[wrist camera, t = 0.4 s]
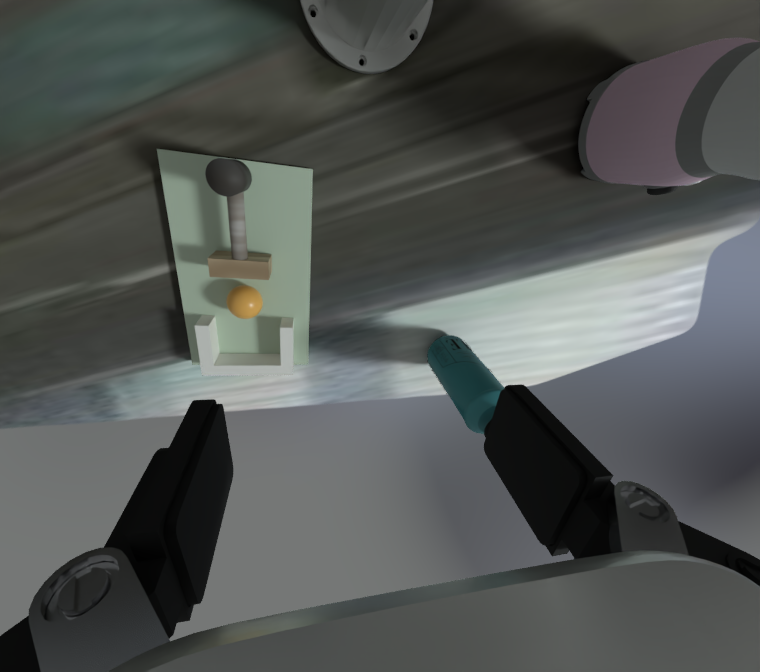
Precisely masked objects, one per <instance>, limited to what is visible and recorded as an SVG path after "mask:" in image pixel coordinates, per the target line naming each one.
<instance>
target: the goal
mask: <svg viewBox="0 0 760 672" xmlns="http://www.w3.org/2000/svg"><path fill="white" fill-rule="evenodd" d="M195 332H196V339H197V345H198V352H199V358H200V365H201V372H202V376H234V375H293V365H294V318H282V319H281V325H280V353H281V354H229V353H220V352H219V344H218V335H217V327H216V318H215V315H202V316H201V317H200V319H199V320H198V321H197V323H196V324H195Z"/></svg>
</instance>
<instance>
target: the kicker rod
mask: <svg viewBox="0 0 760 672" xmlns="http://www.w3.org/2000/svg"><path fill="white" fill-rule="evenodd" d="M205 176H206V180H207V183H208V184H209V186H210V187H211V189H212V190H213V191H214V192H216V193H217V194H219V195H222V196H226V197H227V207H228V219H229V230H230V242H231V251H218V250H216V251H215V252H214V253H213V254H212V255H210V256H209V257H208V258H207V259H208V267H209V275H210V277H221V278H239V279H257V280H269V278H270V275H271V273H272V254H260V253H248V252H247V236H246V220H245V205H244V191H246V190H247V189H248V188H249V187H250V185H251V182H252V176H251V172H250V170H249V168H248V167H247V166H246V165H245V164H244V163H243V162H241V161H239V160H236V159H226V158H217V159H214V160H212V161H211V162H209V164H208V165H207V167H206V171H205Z"/></svg>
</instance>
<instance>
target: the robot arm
mask: <svg viewBox="0 0 760 672" xmlns="http://www.w3.org/2000/svg"><path fill="white" fill-rule="evenodd" d="M300 3H301V6H302V10H303V13H304V16H305V19H306V21H307V23H308V25H309V28H310V30H311V32H312V33H313V35H314V37H315V38H316V40H317V42H318V43H319V45H320V46H321V47H322V48H323V49H324V50H325V52H326V53H327V54H328V55H329V56H330V57H331V58H332V59H334V60H335V61H336V62H337V63H339V64H340V65H342V66H344V67H346V68H347V69H349V70H351V71H355V72H359V73H362V74H377V73H382V72H386V71H388V70H390V69H392V68H394V67H396V66H398V65H399V64H400V63H401V62H403V61H404V60H405V59H406V58H407V57H408V56H409V55H410V54H411V53H412V52H413V51H414V49H415V48H416V46H417V45H418V44H419V42H420V40H421V39H422V36H423V34H424V32H425V30H426V28H427V25H428V22H429V19H430V15H431V12H432V7H433V0H300ZM311 12H315V14H316V17H312V16H311V15H310V13H311ZM410 35H412V36H413V40H411V39H410V37H409V36H410ZM360 60H362V61H363V62H364V65H363V66H361V65H360V64H359V61H360ZM484 451H485V453H486V455H487V457H488V459H489V460H490V462H491V464H492V465H493V467H494V469H495V470H496V472H497V473H498V475H499V477H500V478H501V480H502V482H503V483H504V485H505V486H506V488H507V490H508V491H509V493H510V494H511V496H512V498H513V499H514V501H515V503H516V504H517V506H518V508H519V509H520V511H521V513H522V514H523V516H524V517H525V519H526V521H527V522H528V524H529V526H530V527H531V529H532V530H533V532H534V534H535V535H536V537H537V539H538V540H539V541H540V543H541V544H543V545H545V546H546V547H547V549H548V550H549V552H550V554H551V555H552V556H556V555H561V554H567V553H568V552H569V550H570V552H571V553H572V555H573V556H574V559H573V560H567V561H562V562H556V563H551V564H545V565H539V566H533V567H528V568H522V569H516V570H511V571H506V572H499V573H494V574H488V575H483V576H477V577H472V578H466V579H461V580H455V581H450V582H444V583H439V584H433V585H428V586H422V587H417V588H411V589H406V590H401V591H395V592H390V593H385V594H380V595H374V596H369V597H363V598H358V599H353V600H347V601H343V602H337V603H331V604H326V605H321V606H316V607H310V608H305V609H300V610H295V611H291V612H285V613H281V614H275V615H271V616H266V617H261V618H256V619H252V620H247V621H242V622H237V623H233V624H228V625H225V626H220V627H217V628H213V629H209V630H205V631H201V632H197V633H193V634H191V635H188V636H185V637H182V638H179V639H177V640H173V641H171V642H170V640H169V638H170V637H171V636H172V635H173V634H174V630H175V627H176V623H178V622H184V621H189V620H190V617H191V613H192V610H193V606H194V604H199V603H201V601H202V599H203V596H204V591H205V588H206V584H207V580H208V576H209V572H210V567H211V564H212V560H213V555H214V551H215V547H216V543H217V539H218V535H219V531H220V527H221V523H222V519H223V514H224V511H225V507H226V502H227V499H228V494H229V490H230V487H231V483H232V478H233V462H232V457H231V451H230V445H229V439H228V433H227V427H226V421H225V415H224V409H223V405H222V404H216V401H215V400H214V399H213V400H194V401H193V402H192V403H191V405H190V407H189V409H188V411H187V413H186V415H185V417H184V419H183V421H182V423H181V425H180V427H179V429H178V431H177V433H176V435H175V437H174V439H173V441H172V443H171V445H170V447H169V448H161V449H159V450H158V451H157V452H156V453H155V454H154V456H153V458H152V460H151V461H150V463H149V465H148V467H147V469H146V471H145V472H144V474H143V476H142V478H141V480H140V482H139V483H138V485H137V487H136V489H135V491H134V493H133V495H132V496H131V498H130V500H129V502H128V504H127V506H126V508H125V509H124V511H123V513H122V515H121V517H120V519H119V521H118V522H117V524H116V526H115V528H114V530H113V532H112V534H111V535H110V537H109V539H108V541H107V543H106V544H105V546H104V548H98V549H94V550H91V551H88V552H85V553H83V554H81V555H79V556H77V557H75V558H74V559H72V560H70V561H69V562H67V563H66V564H65V565H63V566H62V567H60V568H59V569H58V570H56V571H55V572H54V573H53V574H52V575H51V576H50V577H49V578H48V579H47V580H46V581H45V582H44V584H43V585H42V586H41V588H40V589H39V591H38V592H37V593H36V595H35V596H34V599H33V601H32V603H31V606H30V608H29V616H27V617H26V618H25V619H23V620H22V621H21V622H20V623H18V624H16V625H15V626H14V627H12V628H11V629H9V630H8V631H7V632H5V633H4V634H2V635H1V636H0V672H760V560H759V559H757V558H755V557H754V556H752V555H750V554H748V553H746V552H744V551H742V550H740V549H738V548H735V547H733V546H731V545H729V544H727V543H725V542H722V541H720V540H718V539H716V538H714V537H712V536H709V535H707V534H705V533H703V532H701V531H699V530H696V529H694V528H692V527H690V526H688V525H686V524H683V523H681V522H679V521H678V519H677V516H676V514H675V512H674V510H673V508H672V507H671V506H670V505H669V504H668V502H667V501H666V500H664V499H663V498H662V497H661V496H660V495H658V494H657V493H656V492H654V491H652V490H651V489H649V488H647V487H645V486H643V485H641V484H638V483H635V482H631V481H621V482H618V483H617V484H616V485H615V486H614V485H613V483H612V482H611V481H610V480H611V478H612V477H613V475H612V474H611V473H610V472H609V471H608V470H607V469H606V468H605V467H604V466H603V465H602V464H601V463H600V462H599V461H598V460H597V459H596V458H595V457H594V456H593V454H591V453H590V451H589V450H588V449H587V448H586V447H585V446H584V445H583V444H582V443H581V442H580V441H579V440H578V439H577V438H576V437H575V436H574V435H573V434H572V433H571V432H570V431H569V430H568V429H567V428H566V427H565V426H564V425H563V424H562V423H561V422H560V421H559V420H558V419H557V418H556V417H555V416H554V415H553V414H552V413H551V412H550V411H549V410H548V409H547V408H546V407H545V406H544V405H543V404H542V403H541V402H540V401H539V400H538V399H537V398H536V397H535V396H534V395H533V394H532V393H531V392H530V391H529V390H528V389H527V387H525V386H524V385H508V386H506V387H505V388H504V390H502V391H501V392H500V395H499V398H498V401H497V404H496V407H495V411H494V414H493V417H492V420H491V423H490V427H489V430H488V433H487V436H486V440H485V443H484Z"/></svg>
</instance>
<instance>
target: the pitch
mask: <svg viewBox="0 0 760 672" xmlns="http://www.w3.org/2000/svg"><path fill="white" fill-rule="evenodd" d="M157 154H158V160H159V166H160V172H161V178H162V184H163V190H164V196H165V202H166V208H167V214H168V220H169V226H170V232H171V238H172V244H173V250H174V256H175V262H176V268H177V275H178V281H179V287H180V293H181V299H182V305H183V311H184V317H185V323H186V329H187V335H188V341H189V347H190V353H191V359H192V365H200V358H199V352H198V345H197V339H196V332H195V324H196V323H197V321H198V320H199V319H200V317H201V316H202V315H215V318H216V327H217V335H218V344H219V352H220V353H229V354H281V353H280V325H281V319H282V318H294V365H308V349H309V305H310V262H311V218H312V175H313V169H307V168H300V167H292V166H285V165H277V164H269V163H262V162H254V161H247V160H239V159H236V160H239V161H241V162H243V163H244V164H245V165H246V166H247V167H248V168H249V170H250V172H251V176H252V182H251V185H250V187H249V188H248V189H247V190H246V191H244V205H245V220H246V236H247V252H248V253H260V254H272V273H271V275H270V278H269V280H257V279H239V278H221V277H210V275H209V267H208V259H207V258H208V257H209V256H210V255H212V254H213V253H214V252H215V251H216V250H218V251H231V242H230V230H229V219H228V207H227V197H226V196H222V195H219V194H217V193H216V192H214V191H213V190H212V189H211V187H210V186H209V184H208V183H207V180H206V176H205V171H206V167H207V165H208V164H209V162H211V161H212V160H214V159H217V158H224V157H216V156H208V155H201V154H193V153H186V152H178V151H170V150H163V149H157ZM226 159H231V158H226ZM240 285H248V286H251V287H253V288H255V289H256V290H257V291H258V292H259V293H260V294H261V296H262V299H263V306H262V309H261V311H260V312H259V314H258V315H256V316H255V317H253V318H250V319H241V318H238V317H236V316H234V315H233V314H232V313H231V312H230V311H229V309H228V307H227V303H226V300H227V296H228V294H229V292H230V291H231V290H232V289H233V288H235V287H237V286H240Z"/></svg>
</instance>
